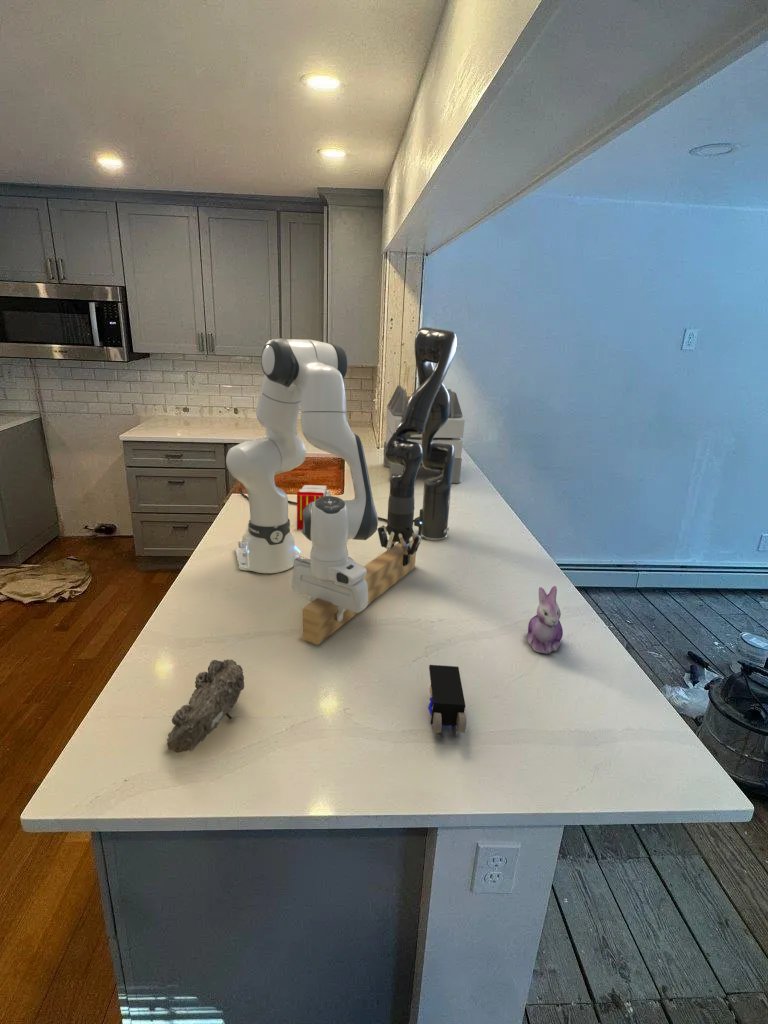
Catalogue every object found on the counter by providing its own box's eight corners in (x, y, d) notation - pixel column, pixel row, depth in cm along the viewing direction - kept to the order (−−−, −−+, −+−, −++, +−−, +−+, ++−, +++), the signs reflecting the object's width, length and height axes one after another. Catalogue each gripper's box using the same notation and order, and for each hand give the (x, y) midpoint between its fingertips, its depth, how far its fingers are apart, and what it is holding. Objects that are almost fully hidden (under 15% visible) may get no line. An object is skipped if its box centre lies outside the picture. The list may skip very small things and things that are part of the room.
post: (402, 563, 177) (403, 538, 174) (415, 567, 175) (416, 542, 172) (302, 639, 134) (302, 607, 132) (317, 645, 132) (317, 613, 130)
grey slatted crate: (382, 463, 289) (386, 382, 275) (445, 464, 293) (451, 384, 279) (390, 482, 257) (394, 392, 243) (460, 483, 261) (468, 394, 247)
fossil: (192, 660, 117) (244, 628, 112) (224, 691, 120) (276, 661, 115) (142, 746, 98) (202, 712, 93) (182, 779, 101) (242, 748, 96)
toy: (332, 480, 224) (326, 494, 194) (331, 513, 226) (326, 531, 197) (301, 479, 223) (291, 493, 194) (301, 513, 226) (291, 531, 197)
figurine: (544, 659, 130) (553, 602, 125) (515, 637, 139) (522, 582, 134) (574, 650, 135) (584, 594, 130) (544, 629, 143) (552, 575, 138)
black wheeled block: (466, 750, 104) (456, 690, 118) (471, 720, 101) (459, 662, 115) (430, 749, 104) (423, 690, 118) (433, 719, 101) (426, 661, 114)
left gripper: (285, 559, 136) (286, 610, 141) (358, 581, 127) (356, 634, 131) (301, 550, 141) (302, 599, 146) (372, 571, 132) (370, 622, 137)
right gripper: (372, 507, 162) (370, 561, 168) (417, 517, 156) (413, 573, 162) (385, 500, 169) (383, 553, 174) (429, 510, 162) (425, 564, 168)
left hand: (328, 616), depth 139 cm, fingers closed on post, 4 cm apart
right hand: (397, 562), depth 168 cm, fingers closed on post, 4 cm apart
